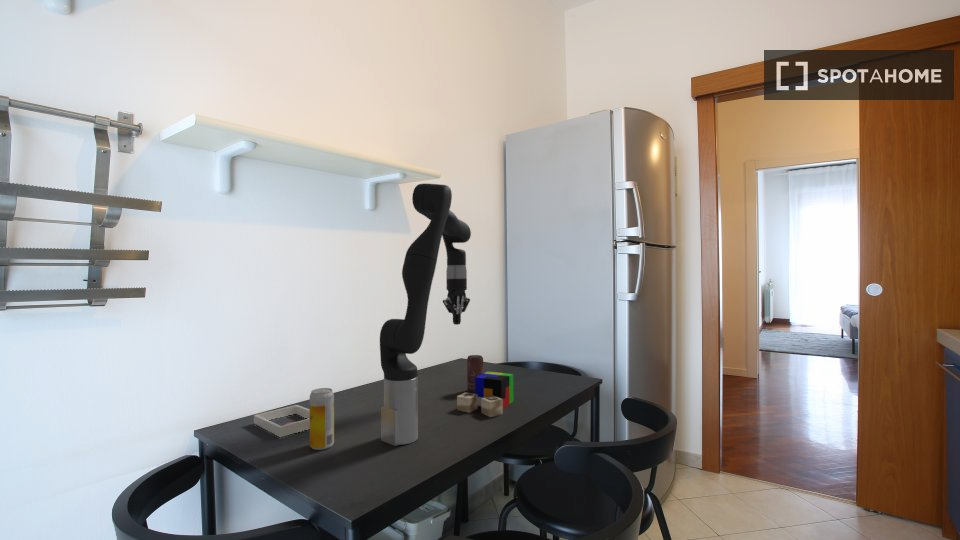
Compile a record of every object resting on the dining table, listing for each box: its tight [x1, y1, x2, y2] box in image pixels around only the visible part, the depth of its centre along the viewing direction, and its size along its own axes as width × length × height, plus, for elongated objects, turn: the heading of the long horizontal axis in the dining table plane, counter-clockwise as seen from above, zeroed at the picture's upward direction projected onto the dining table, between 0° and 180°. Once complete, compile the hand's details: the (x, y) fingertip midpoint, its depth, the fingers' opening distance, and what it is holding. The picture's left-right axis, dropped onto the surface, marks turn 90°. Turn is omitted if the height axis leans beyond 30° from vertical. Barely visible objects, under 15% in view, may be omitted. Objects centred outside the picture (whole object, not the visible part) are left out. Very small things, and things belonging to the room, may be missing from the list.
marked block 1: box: [456, 392, 479, 413], centre depth 148 cm, size 5×5×5 cm
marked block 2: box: [480, 396, 504, 418], centre depth 144 cm, size 5×5×5 cm
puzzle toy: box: [475, 371, 514, 409], centre depth 155 cm, size 10×10×10 cm
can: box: [466, 354, 484, 394], centre depth 170 cm, size 6×6×14 cm
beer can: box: [309, 387, 335, 451], centre depth 117 cm, size 6×6×15 cm
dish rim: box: [253, 404, 310, 437], centre depth 133 cm, size 14×17×4 cm
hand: (456, 324), depth 164 cm, fingers closed
